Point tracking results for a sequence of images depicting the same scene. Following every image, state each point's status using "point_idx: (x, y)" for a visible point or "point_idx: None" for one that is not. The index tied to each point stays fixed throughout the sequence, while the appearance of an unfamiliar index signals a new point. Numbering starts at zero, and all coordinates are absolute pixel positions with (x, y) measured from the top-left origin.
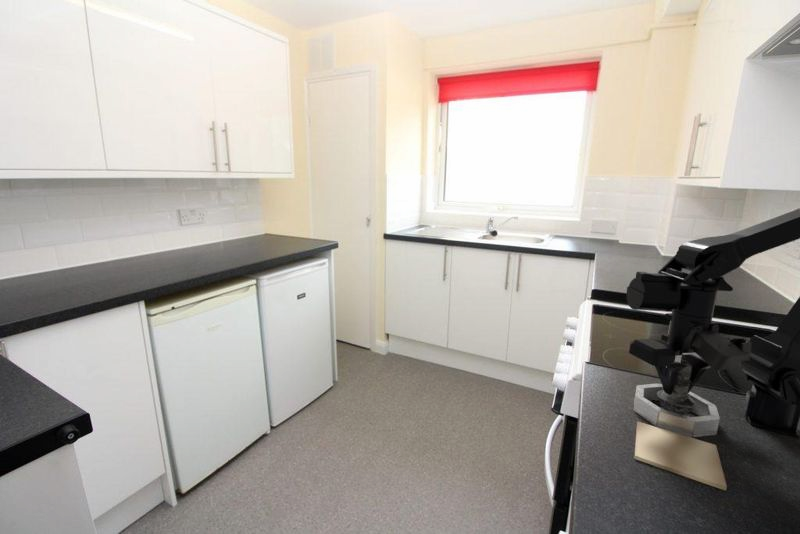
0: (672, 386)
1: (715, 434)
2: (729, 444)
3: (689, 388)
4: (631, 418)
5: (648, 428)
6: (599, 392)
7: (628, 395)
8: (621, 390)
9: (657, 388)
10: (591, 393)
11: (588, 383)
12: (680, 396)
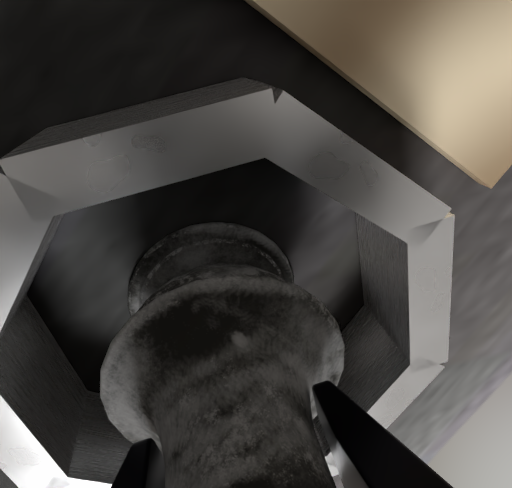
0: (373, 447)
1: (50, 127)
2: (5, 3)
3: (139, 484)
4: (458, 234)
5: (491, 119)
6: (436, 410)
7: None
8: None
9: None
10: (475, 395)
11: (429, 459)
12: (262, 369)
